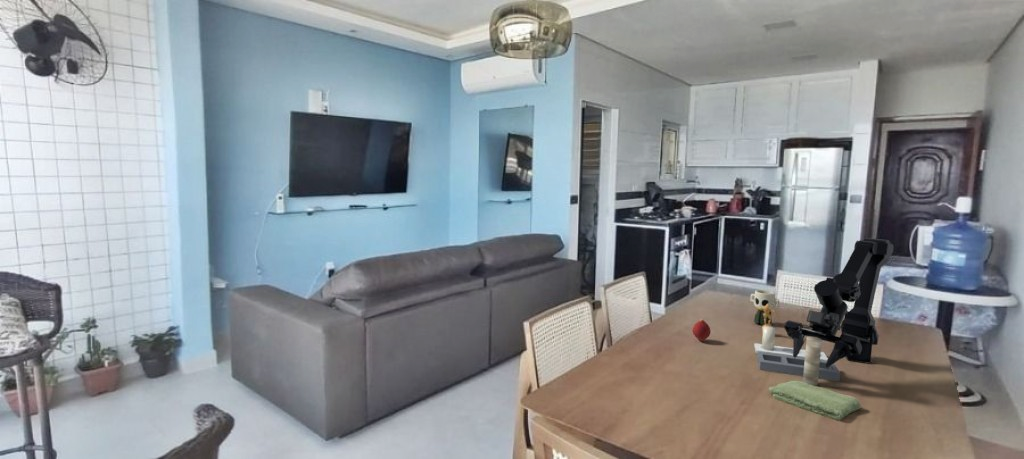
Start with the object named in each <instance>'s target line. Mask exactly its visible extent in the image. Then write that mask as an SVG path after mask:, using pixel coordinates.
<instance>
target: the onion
mask: <svg viewBox="0 0 1024 459" xmlns="http://www.w3.org/2000/svg"><path fill="white" fill-rule="evenodd" d="M692 333H693V334H692V335H693V336H694V337H695V338H696V339H697V340H698V341H700V342H703V341H705V340H707V338H709V337H710V335H711V326H710V325H709V324H708V323H707V322H706V321H705V320H703V318H699V321H697V322H696V323H695V324H693V326H692Z"/></svg>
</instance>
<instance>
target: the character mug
mask: <svg viewBox="0 0 1024 459" xmlns="http://www.w3.org/2000/svg"><path fill="white" fill-rule="evenodd" d="M749 300H750V302H751V303H753V305H754V307H755V308H756V310H755V312H756V311H757V309H758V308H761V307H764V306H766V305H767V304H769V307H770V308H771V309H772V310H774V308H779V306H780V299H778V298H776V293H775V292H774V291H771V290H767V289H756V290H755V291H754V293H751V294H750V299H749ZM775 303H776V304H775ZM763 313H765V312H764V310H763V309H759V310H758V312H757V314H754V319H753V322H754V323H755V324H757V325H758V324H759V325H762V326H763V325H765V322H764V319H765V318H764V316H763ZM769 314H771V318H772V311H770V312H769ZM769 320H770V319H769V318H768V316H767V317H766V324H769V323H768V322H769ZM772 323H773V318H772V319H771V322H770V324H771V325H772Z"/></svg>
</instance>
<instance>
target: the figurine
mask: <svg viewBox="0 0 1024 459" xmlns="http://www.w3.org/2000/svg"><path fill="white" fill-rule="evenodd" d="M759 309H763V310H764V312H765V313H763V316H764V318H765V319H764V322H765V325H762V327H761V331H762V333H763V327H764V326H769V327H774V326H772V324H770V322H771V319H772V320H773V318H771V316H772V312H773V313H774V314H775V316H777V317H778V319H779V320H780V316H779V314H778V313H777V311H775V310H774V309H771V308H770V307H769V304H767V305H766V306H764V307H761V308H756V310H757V311H756V310H755V314H757V312H758V310H759ZM770 311H771V314H769V312H770ZM755 314H754V315H755ZM767 316H768V318H769V319H770V320H769V322H768V323H769V324H766V317H767Z"/></svg>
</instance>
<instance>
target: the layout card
mask: <svg viewBox="0 0 1024 459" xmlns="http://www.w3.org/2000/svg"><path fill="white" fill-rule="evenodd" d="M761 340H762V341H761V343H757V342H754V344H753V345H754V350H755V353H756V354H757V355H758V352H765V353H772V354H780V355H787V356H793V347H786V346H778V345H775V340H776V327H774V326H773V327H769V326H764V327H763V332H762V339H761ZM805 351H806V349H802V348H801V350H800V352H799V353H798V355H797V356H796V357H802V358H805ZM828 358H829V357H828V356H827V355H826V354H825V351H821V354H820V360H824V361H827V360H828Z"/></svg>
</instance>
